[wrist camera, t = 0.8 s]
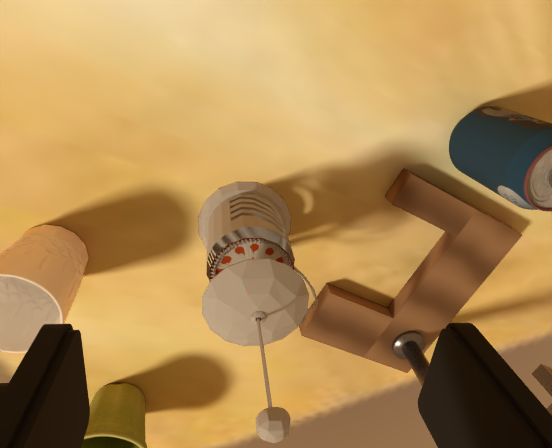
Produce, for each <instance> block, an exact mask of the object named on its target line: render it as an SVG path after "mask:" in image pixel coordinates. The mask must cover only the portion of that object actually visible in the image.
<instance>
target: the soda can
mask: <svg viewBox="0 0 552 448" xmlns="http://www.w3.org/2000/svg"><path fill="white" fill-rule="evenodd" d="M449 154H450V158H451V161H452V163H453V164H454V166H455V167H456V168H457V169H458V170H459V171H461V172H462V173H464V174H466V175H467V176H469V177H471V178H472V179H474V180H475V181H477V182H479V183H480V184H482V185H484V186H485V187H487V188H489V189H490V190H492V191H494V192H495V193H497V194H499V195H500V196H502V197H503V198H505V199H507V200H508V201H510V202H512V203H513V204H515V205H517V206H518V207H521V208H524V209H531V210H537V209H539V210H542V211H552V124H551V123H548V122H545V121H541V120H538V119H535V118H532V117H528V116H525V115H522V114H519V113H515V112H512V111H509V110H506V109H502V108H499V107H493V106H490V107H483V108H480V109H477V110H475V111H473V112H471V113H469V114H468V115H466V116H465V117H464V118H463V119H462V120H461V121H460V122H459V123H458V124H457V125H456V126H455V128H454V130H453V132H452V134H451V137H450V142H449Z"/></svg>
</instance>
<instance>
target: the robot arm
mask: <svg viewBox="0 0 552 448" xmlns="http://www.w3.org/2000/svg"><path fill="white" fill-rule="evenodd" d="M418 408H419V412H420V414H421V416H422V418H423V420H424V422H425V423H426V426H427V428H428V429H429V431H430V433H431V435H432V437H433V439H434V441H435V443H436V445H437V446H438V448H552V415H551V414H550V413H549V412H548V411H547V409H546V408H545V407H544V406H543V405H542V404H541V402H540V401H539V400H538V399H537V398H536V397H535V396H534V394H533V393H532V392H531V391H530V390H529V389H528V387H527V386H526V385H525V384H524V383H523V382H522V380H521V379H520V378H519V377H518V376H517V375H516V374H515V372H514V371H513V370H512V369H511V368H510V367H509V365H508V364H507V363H506V362H505V361H504V359H503V358H502V357H501V356H500V355H499V354H498V352H497V351H496V350H495V349H494V348H493V347H492V346H491V344H490V343H489V342H488V341H487V340H486V339H485V337H484V336H483V335H482V334H481V333H480V332H479V330H478V329H477V328H476V327H475V326H474V325H473V324H471V323H449V324H448V325H447V326H446V328H444V329H442V330H441V332H440V335H439V338H438V341H437V344H436V347H435V350H434V353H433V356H432V359H431V362H430V365H429V368H428V371H427V374H426V377H425V380H424V383H423V386H422V389H421V393H420V395H419V398H418ZM89 418H90V407H89V399H88V390H87V382H86V374H85V365H84V357H83V349H82V340H81V333H80V331H79V330H73V328H72V325H71V324H44V325H43V326H42V327H41V329H40V330H39V332H38V334H37V336H36V337H35V339H34V341H33V342H32V344H31V346H30V348H29V349H28V351H27V353H26V355H25V356H24V358H23V360H22V361H21V363H20V365H19V367H18V368H17V370H16V372H15V374H14V375H13V377H12V379H11V380H10V382H9V383H0V448H81V446H82V443H83V440H84V437H85V434H86V431H87V427H88V424H89Z"/></svg>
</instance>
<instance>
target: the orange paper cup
mask: <svg viewBox="0 0 552 448" xmlns="http://www.w3.org/2000/svg"><path fill="white" fill-rule="evenodd" d="M88 259H89V257H88V253H87V249H86V245H85V244H84V243H83V242H82V241H81V239H80V238H79V237H78V236H77V235H76V234H75V233H73V232H71V231H69V230H67V229H65V228H63V227H61V226H53V225H41V226H37V227H34V228H31V229H29V230H27V231H26V232H25V233H24V234H23V235H22V236H21V237H20V238H19V239H18V240H17V241H15V242H14V243H12V244H10V245H9V246H8V247H7V248H6V249H5V250H3V251H2V252H1V253H0V351H3V352H9V353H26V352H27V351H28V349H29V348H30V346H31V344H32V342H33V341H34V339H35V337H36V336H37V334H38V332H39V330H40V329H41V327H42V326H43V325H44V324H64V323H65V321H66V318H67V316H68V314H69V311H70V309H71V307H72V304H73V302H74V300H75V297H76V295H77V292H78V290H79V287H80V284H81V282H82V279H83V274H84V272H85V269H86V266H87V262H88Z"/></svg>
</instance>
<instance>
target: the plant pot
mask: <svg viewBox="0 0 552 448" xmlns="http://www.w3.org/2000/svg"><path fill="white" fill-rule="evenodd" d="M89 407H90V418H89V424H88V427H87V431H86V434H85V437H84V440H83V443H82V446H81V448H147V445H146V442H145V398H144V395H143V393H142V391H141V390H140V389H138V388H137V387H135V386H133V385H131V384H127V383H121V384H116V385H113V384H109V385H106V386H104V387H102V388H101V389H100V390H99V391H98V392H97V393H96V394H95V396H94V398H93V400H92V402H91V404H90V406H89Z"/></svg>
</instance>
